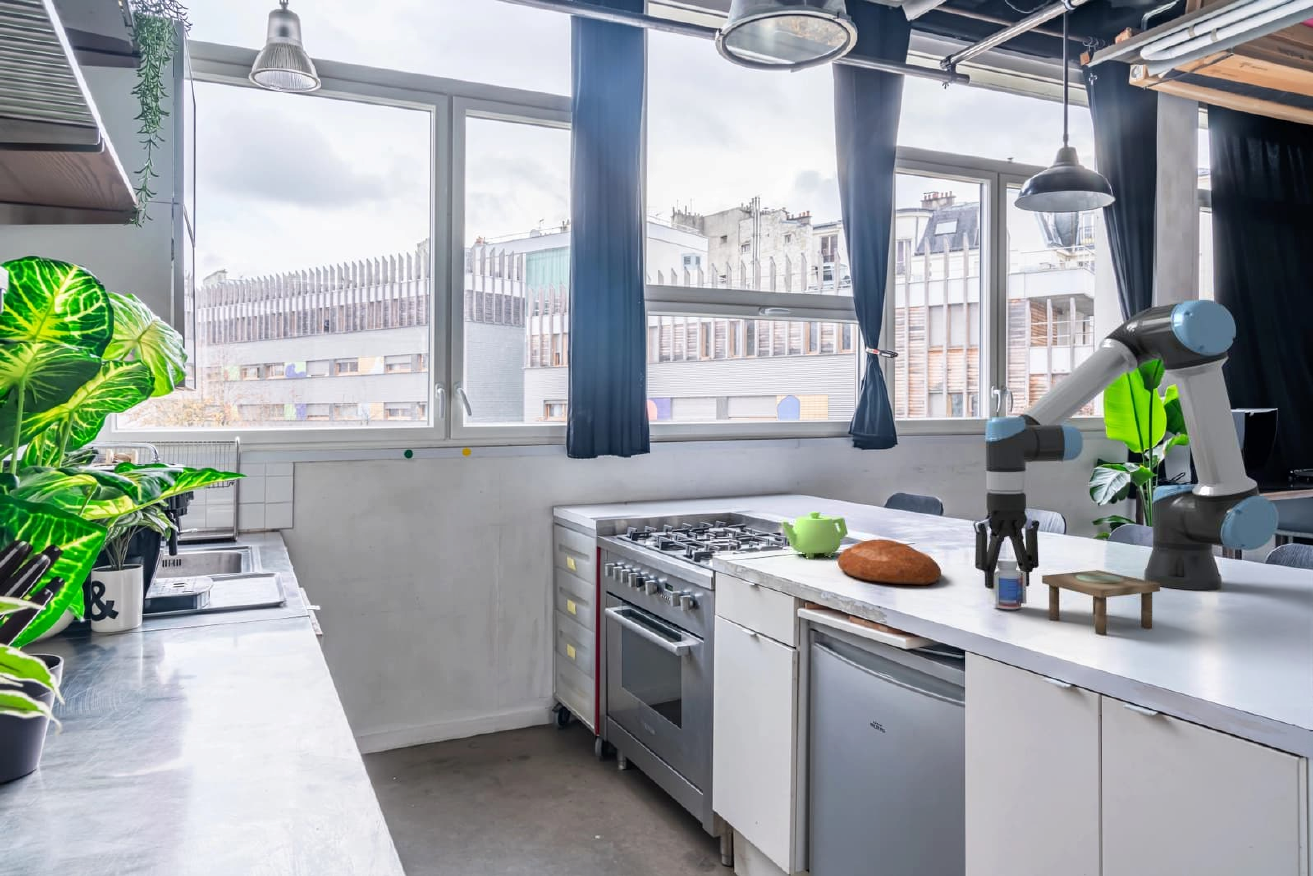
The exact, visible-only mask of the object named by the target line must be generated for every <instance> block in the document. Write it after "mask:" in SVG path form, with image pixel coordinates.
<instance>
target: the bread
mask: <svg viewBox="0 0 1313 876" xmlns="http://www.w3.org/2000/svg"><path fill="white" fill-rule="evenodd" d="M837 565H838V567H839V569H840V570H841V571H843V572H844V573H846V574H847V575H849V576H851V577H854V578H857V579H859V580H863V581H869V582H876V583H883V584H891V585H892V584H896V585H897V584H898V585H923V586H924V585H925V586H926V585H928V584H929V585H930V584H932V583H935V582H937V581H939V580H940V578H941V576H942V569H941V567H940V565H939V564H938V563H937V562H936V561H935V560H934V559H933V558H932V557H931V556H930V555H929V554H927V553H924V552H921V551H919V550H916V549H915V548H913V547H912V546H910V545H908V544H906V543H902V542H899V541H896V540H895V541H894V540H890V539H881V538H878V539H869V540H865V541H861V542H858V543H856V544H854V545H853V546H851V547H849V548H848V547H847V548H845V549H844V550H843V551H842V552H841V553H840V555H839V556H838V560H837Z"/></svg>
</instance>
